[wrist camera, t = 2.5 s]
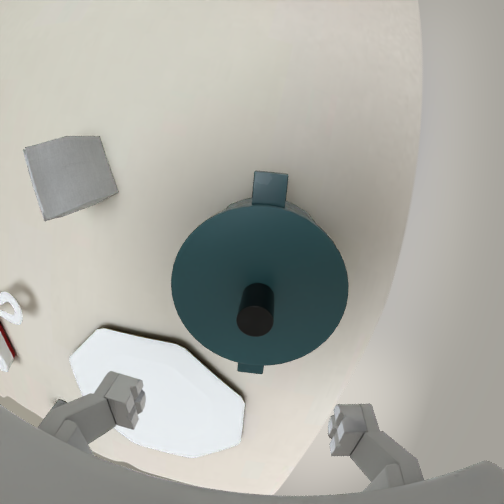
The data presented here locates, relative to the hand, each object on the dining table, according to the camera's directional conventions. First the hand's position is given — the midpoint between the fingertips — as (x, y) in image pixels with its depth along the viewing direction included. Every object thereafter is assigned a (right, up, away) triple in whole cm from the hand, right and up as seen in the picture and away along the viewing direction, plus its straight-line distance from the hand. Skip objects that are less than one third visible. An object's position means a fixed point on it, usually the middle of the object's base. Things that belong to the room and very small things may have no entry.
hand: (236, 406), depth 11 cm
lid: (+1, +3, +12) cm, 12 cm away
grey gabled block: (-16, +15, +17) cm, 28 cm away
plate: (-14, -16, +28) cm, 35 cm away
